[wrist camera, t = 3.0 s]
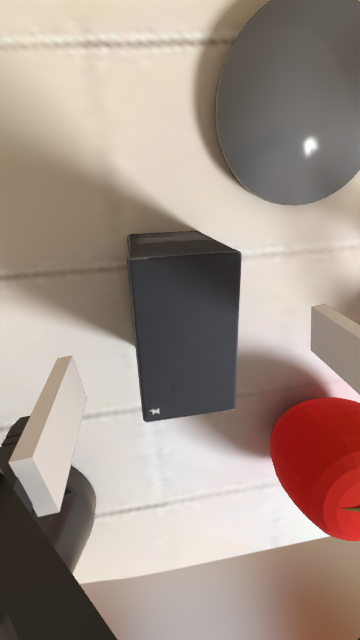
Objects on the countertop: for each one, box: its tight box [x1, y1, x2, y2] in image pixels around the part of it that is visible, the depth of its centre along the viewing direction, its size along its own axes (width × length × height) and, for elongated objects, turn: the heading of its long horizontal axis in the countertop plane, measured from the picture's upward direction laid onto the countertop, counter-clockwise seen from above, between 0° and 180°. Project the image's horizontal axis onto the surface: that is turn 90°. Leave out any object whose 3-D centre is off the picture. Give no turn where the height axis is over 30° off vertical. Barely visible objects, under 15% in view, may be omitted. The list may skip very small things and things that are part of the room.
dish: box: [215, 0, 360, 205], centre depth 22 cm, size 13×13×1 cm
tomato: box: [270, 397, 360, 541], centre depth 30 cm, size 12×14×12 cm
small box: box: [127, 231, 241, 422], centre depth 22 cm, size 11×6×10 cm, turn 2°
